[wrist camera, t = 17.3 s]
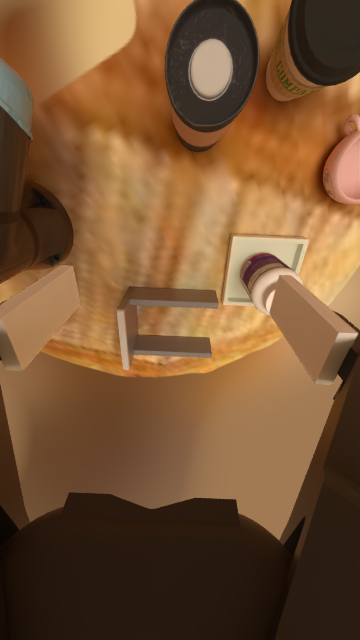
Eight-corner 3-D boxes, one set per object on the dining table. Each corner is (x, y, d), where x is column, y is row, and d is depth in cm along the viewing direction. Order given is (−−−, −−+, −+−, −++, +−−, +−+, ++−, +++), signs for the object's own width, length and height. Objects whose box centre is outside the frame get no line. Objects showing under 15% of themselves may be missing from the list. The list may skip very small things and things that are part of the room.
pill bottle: (281, 284, 48) (314, 319, 35) (241, 294, 49) (260, 331, 36) (277, 245, 44) (314, 269, 31) (235, 257, 45) (254, 285, 33)
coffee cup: (241, 56, 32) (279, -32, 19) (313, -5, 29) (418, -158, 16) (267, 133, 36) (314, 105, 23) (333, 86, 33) (429, 24, 20)
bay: (133, 338, 56) (123, 369, 47) (129, 286, 49) (116, 310, 40) (208, 341, 56) (213, 373, 47) (215, 290, 49) (222, 315, 40)
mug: (383, 181, 39) (414, 180, 34) (322, 214, 41) (342, 218, 36) (372, 98, 34) (406, 82, 28) (303, 142, 36) (323, 135, 31)
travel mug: (222, 84, 33) (263, -24, 16) (225, 149, 37) (260, 119, 20) (170, 95, 34) (154, 3, 17) (178, 158, 38) (171, 136, 20)
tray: (221, 299, 50) (223, 304, 48) (230, 233, 43) (233, 236, 41) (284, 302, 50) (288, 307, 48) (303, 236, 43) (309, 239, 41)
